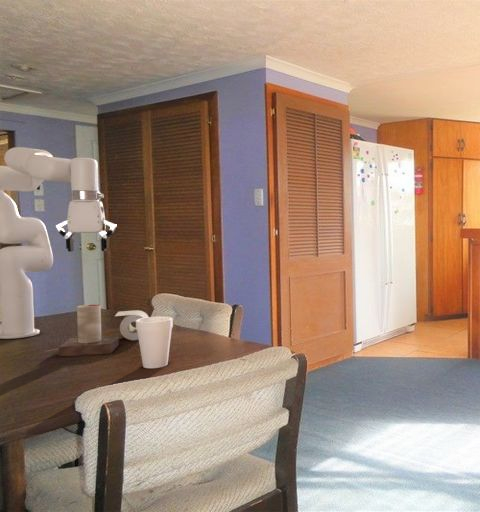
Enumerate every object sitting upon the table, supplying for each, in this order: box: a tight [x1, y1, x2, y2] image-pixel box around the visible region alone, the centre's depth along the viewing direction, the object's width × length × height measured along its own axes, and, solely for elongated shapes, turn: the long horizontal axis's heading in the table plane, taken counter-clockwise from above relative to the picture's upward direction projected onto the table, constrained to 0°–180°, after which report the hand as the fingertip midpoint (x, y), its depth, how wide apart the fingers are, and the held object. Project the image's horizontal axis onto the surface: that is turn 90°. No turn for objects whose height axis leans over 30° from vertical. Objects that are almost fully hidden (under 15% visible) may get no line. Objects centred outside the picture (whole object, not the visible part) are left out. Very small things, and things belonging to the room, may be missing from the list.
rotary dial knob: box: [76, 303, 102, 343], centre depth 164 cm, size 6×6×11 cm
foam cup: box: [135, 316, 174, 369], centre depth 148 cm, size 10×9×13 cm
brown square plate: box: [58, 335, 120, 357], centre depth 165 cm, size 14×12×3 cm
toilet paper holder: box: [114, 309, 150, 341], centre depth 184 cm, size 12×9×15 cm
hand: (87, 251), depth 168 cm, fingers open, 9 cm apart
